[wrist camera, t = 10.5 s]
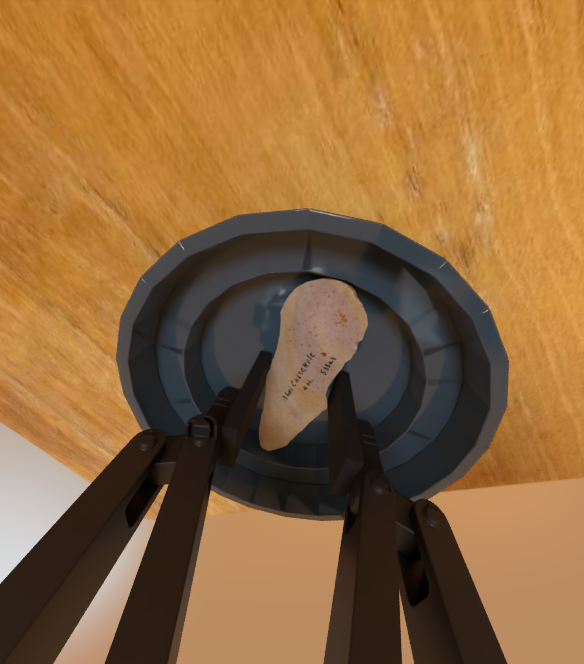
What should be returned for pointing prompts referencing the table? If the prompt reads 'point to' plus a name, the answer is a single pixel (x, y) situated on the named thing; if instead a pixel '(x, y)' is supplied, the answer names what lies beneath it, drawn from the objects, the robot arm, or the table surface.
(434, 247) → the table surface
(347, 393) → the robot arm
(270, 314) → the bowl
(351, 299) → the stone tool
